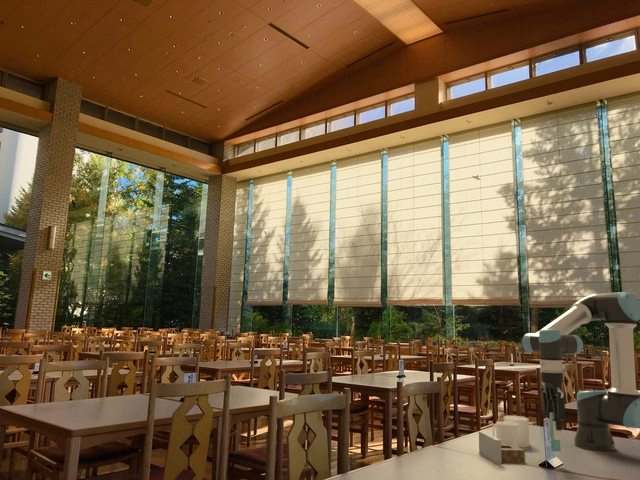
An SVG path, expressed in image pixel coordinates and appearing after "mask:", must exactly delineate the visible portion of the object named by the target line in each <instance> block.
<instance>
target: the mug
mask: <svg viewBox="0 0 640 480" xmlns="http://www.w3.org/2000/svg"><path fill="white" fill-rule="evenodd" d="M503 421H504V422H513V423H517V424H518V447H519V448H521V447H522V448H523V447H524V448H525V447H530V446H531V444H530V419H529V418H528V417H525V416H518V415H504V416H503Z"/></svg>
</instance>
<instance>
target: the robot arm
mask: <svg viewBox="0 0 640 480" xmlns="http://www.w3.org/2000/svg"><path fill="white" fill-rule="evenodd" d="M593 321H604V325H605V326H606V327H607V328H608V332H609V338H608V339H609V355H610V356H609V359H610V380H611V382H610V383H611V387H610V388H608V389H607V390H579V391H578V392H577V393H576V402H575V403H576V410H577V429H576V432H575V435H574V441H573V443H574V445H575V446H577V447H579V448H582V449H587V450H593V451H602V452H606V451H607V452H608V451H610V452H611V451H615V450H616V445H615V441H614V438H613V436H612V434H611V431H610V425H614V426H620V427H625V428H627V429H628V428H629V429H630V428H632V429H640V392H639V391H638V390H637V385H636V368H635V367H636V366H635V363H636V362H635V349H634V348H635V345H634V343H635V342H634V329H635V327H637V326H638V322H637V321H640V299H639V297H638V296H637V295H636V294H634V293H633V292H629V291H627V292H626V291H618V292H617V291H615V292H598V293H597V292H596V293H592V294H589V295H587V296H585V297H583V298H581V299H579V300H578V301H576V302H574V303H572V304H571V305H570V307H569V310H567V311H566V312H564V313H562V315H560V316H558V317H556V319H554V320H553V321H551V322H550V323H548V324H547V325H546V326H544V327H543V328H541V329H540V330H538V331H536V332H535V333H533V332H529V333H526V334H524V335H523V337H522V340H521V341H522V342H521V343H522V344H521V345H522V347H523V349H524V350H525V351H526V352H528V353H529V352H530V353H534V354H537V353H539V365H540V366H539V367H540V370H541V372H540V381H541V383H544V387H540V391H541V392H540V393H541V396H542V405H543V406H542V407H543V408H542V409H543V415H544V416H546V418H547V425H548V429H547V430H548V438H551V431H550V412H553V413H554V419H552V420H553V431H554V439H555V440H560V441H561V440H563V429H562V428H563V427H562V421H564V420H566V395H567V393H566V392H564V391H563V390H562V387H561V384H563V383H564V373H563V371H564V367H563V356H566V355H567V356H568V355H570V356H571V355H572V356H573V355H578V354H580V353H581V352H582V351H583V349H584V343H583V340H582V338H581V337H580V336H578V335H577V334H571V333H572V332H573V331H574V330H576V329H578V328H579V327H580V326H581V325H585V324H588V323H590V322H593Z"/></svg>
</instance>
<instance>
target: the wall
mask: <svg viewBox="0 0 640 480" xmlns="http://www.w3.org/2000/svg"><path fill="white" fill-rule="evenodd" d="M478 453H479V454H480V455H482V456H483V457H485V458H487V459H488V460H490V461H491V462H493V463H494V464H497V465H500V464H502V463H503V462H502V458H501V440H500V439H498V438H496V437H494V436H493V434H490V433H488V432H486V431H485V430H478Z"/></svg>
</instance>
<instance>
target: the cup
mask: <svg viewBox="0 0 640 480" xmlns="http://www.w3.org/2000/svg"><path fill="white" fill-rule="evenodd" d="M492 436H494V437H496V438H498V439H500V440H501V444H513V445H515V446H517V447H518V424H517V423H513V422H504V420H503V421H496V422H495V423H494V424H493V426H492Z"/></svg>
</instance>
